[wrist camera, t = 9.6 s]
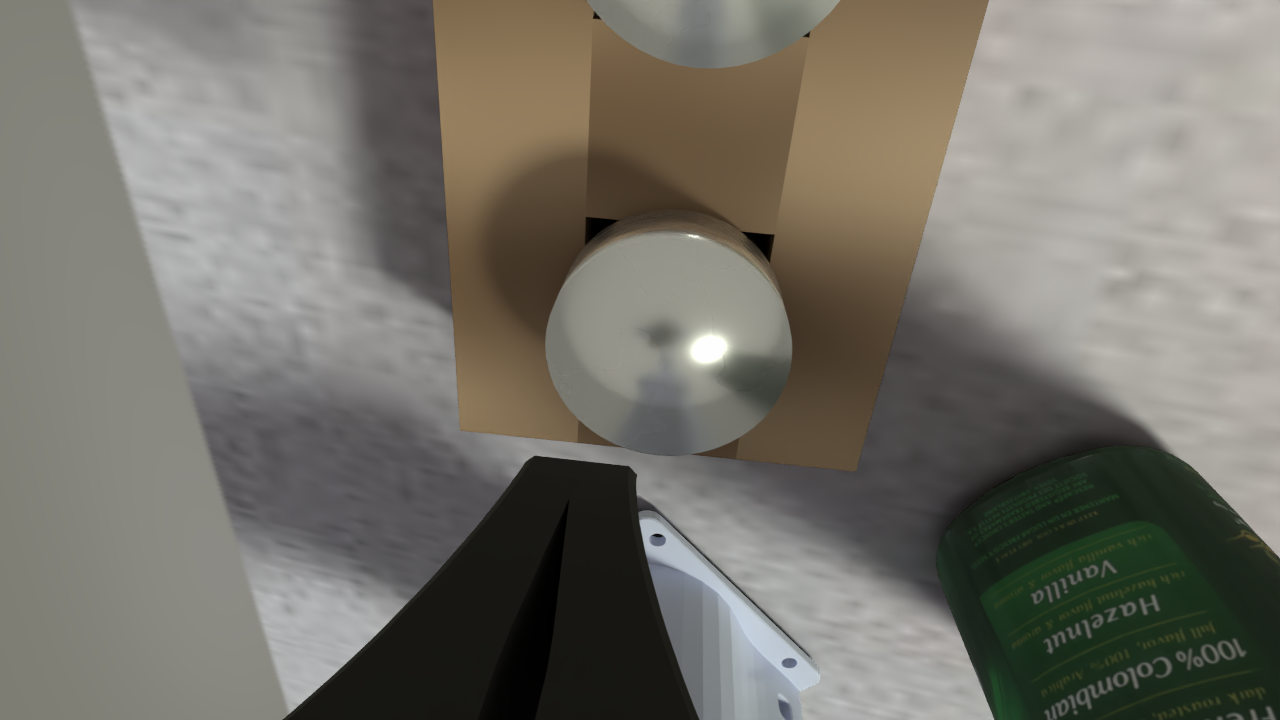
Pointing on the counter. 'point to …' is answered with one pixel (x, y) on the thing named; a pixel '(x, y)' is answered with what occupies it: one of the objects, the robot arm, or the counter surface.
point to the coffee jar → (1115, 594)
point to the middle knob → (711, 27)
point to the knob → (669, 334)
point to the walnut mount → (694, 191)
